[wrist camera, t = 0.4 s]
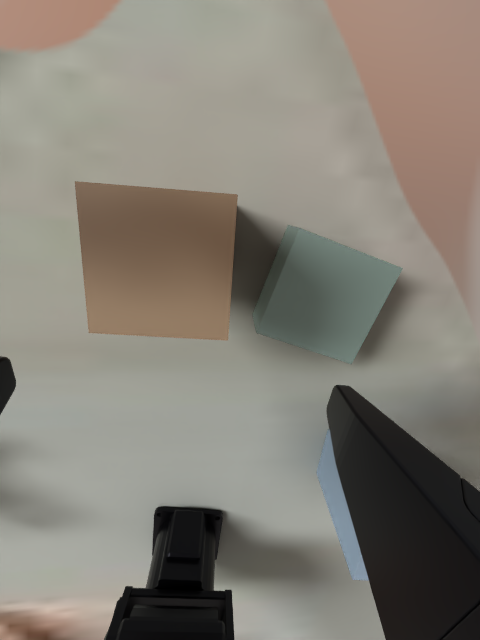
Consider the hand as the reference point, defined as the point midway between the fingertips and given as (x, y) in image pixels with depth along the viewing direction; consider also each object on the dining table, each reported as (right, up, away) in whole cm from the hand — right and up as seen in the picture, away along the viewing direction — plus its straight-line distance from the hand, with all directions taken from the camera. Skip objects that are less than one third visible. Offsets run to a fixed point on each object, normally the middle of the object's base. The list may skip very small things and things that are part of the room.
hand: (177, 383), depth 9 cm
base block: (+7, +4, +15) cm, 17 cm away
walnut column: (-1, +8, +13) cm, 15 cm away
